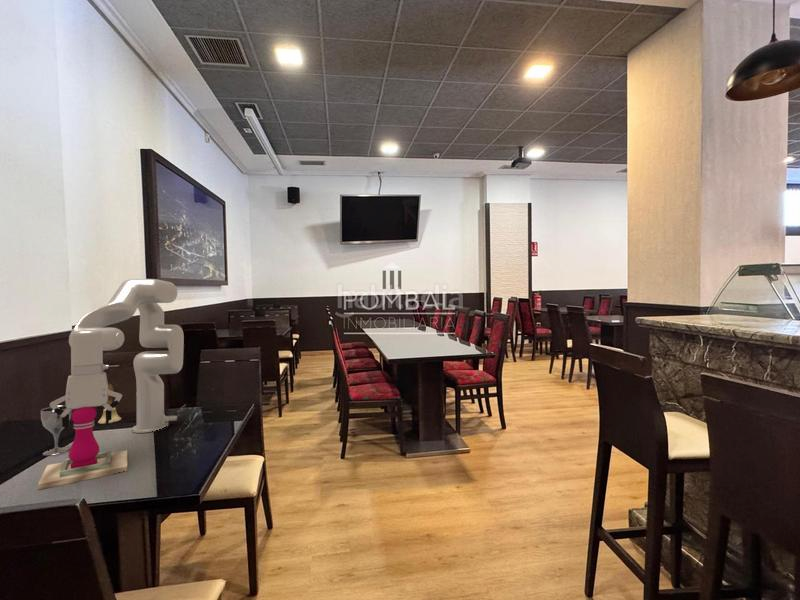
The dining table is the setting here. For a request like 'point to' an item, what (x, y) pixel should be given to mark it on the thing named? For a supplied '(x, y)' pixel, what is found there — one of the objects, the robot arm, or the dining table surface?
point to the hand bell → (114, 413)
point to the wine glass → (53, 427)
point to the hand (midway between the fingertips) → (87, 425)
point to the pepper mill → (83, 438)
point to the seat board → (83, 470)
